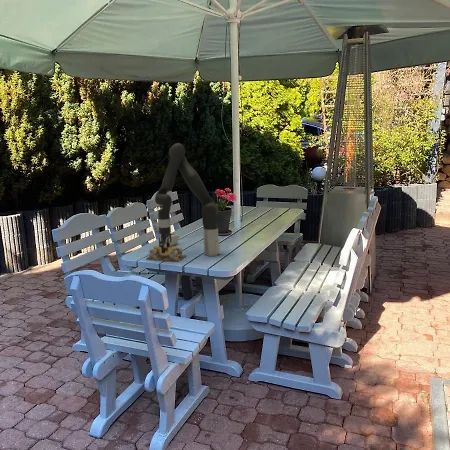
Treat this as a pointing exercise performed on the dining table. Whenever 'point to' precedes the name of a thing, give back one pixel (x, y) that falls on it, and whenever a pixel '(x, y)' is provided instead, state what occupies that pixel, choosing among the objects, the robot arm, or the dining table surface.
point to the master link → (167, 250)
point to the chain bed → (166, 256)
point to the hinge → (174, 239)
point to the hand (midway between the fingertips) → (165, 251)
